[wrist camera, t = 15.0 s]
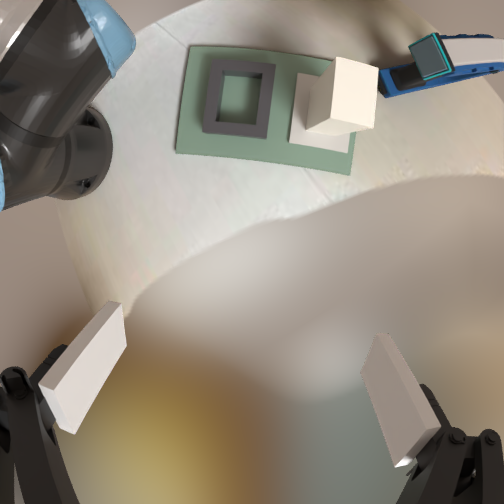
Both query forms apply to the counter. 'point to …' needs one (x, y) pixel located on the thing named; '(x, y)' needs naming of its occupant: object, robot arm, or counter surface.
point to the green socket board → (256, 109)
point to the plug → (343, 98)
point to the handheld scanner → (443, 63)
